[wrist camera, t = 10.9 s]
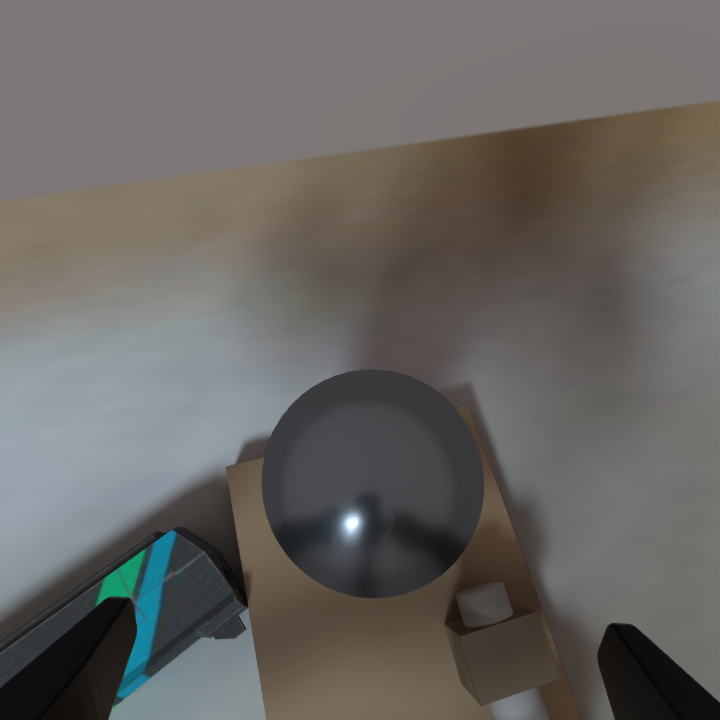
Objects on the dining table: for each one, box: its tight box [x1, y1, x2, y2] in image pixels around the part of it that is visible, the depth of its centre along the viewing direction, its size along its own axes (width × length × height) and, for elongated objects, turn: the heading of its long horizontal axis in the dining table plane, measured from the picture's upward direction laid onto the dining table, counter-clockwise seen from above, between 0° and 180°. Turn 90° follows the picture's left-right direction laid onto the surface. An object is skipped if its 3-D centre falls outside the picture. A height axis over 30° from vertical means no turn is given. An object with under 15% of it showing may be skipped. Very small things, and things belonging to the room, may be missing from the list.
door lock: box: [226, 405, 582, 720], centre depth 17 cm, size 15×11×4 cm
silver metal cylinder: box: [261, 370, 484, 598], centre depth 14 cm, size 5×5×10 cm
